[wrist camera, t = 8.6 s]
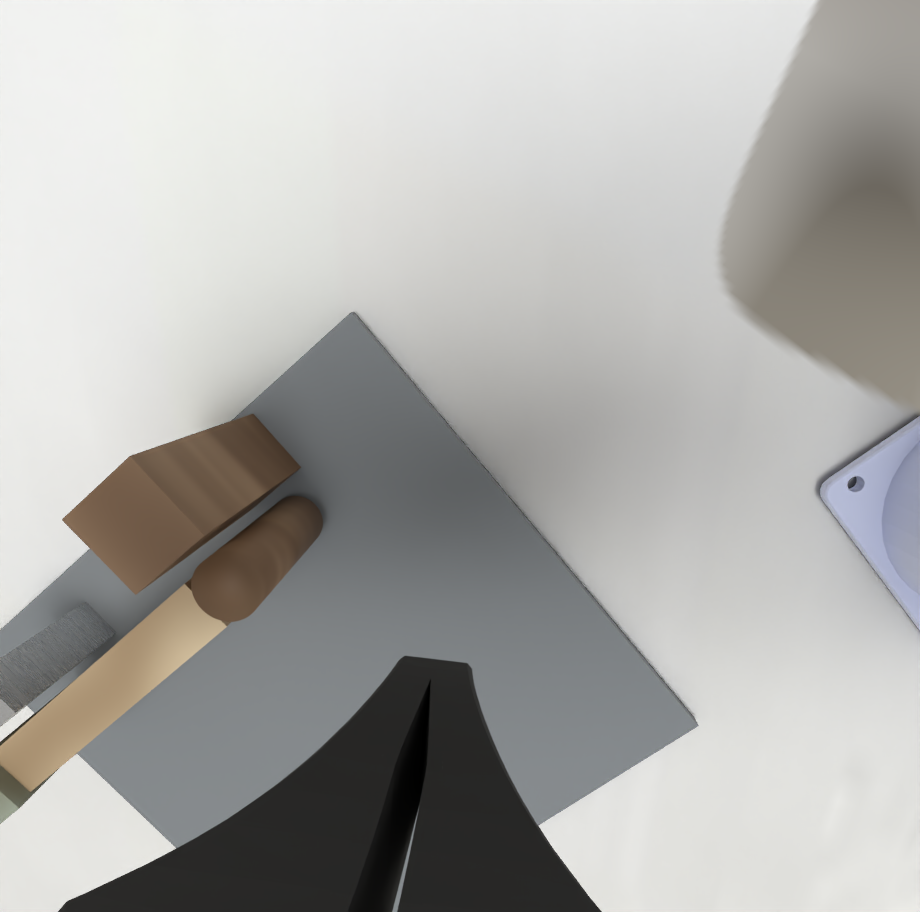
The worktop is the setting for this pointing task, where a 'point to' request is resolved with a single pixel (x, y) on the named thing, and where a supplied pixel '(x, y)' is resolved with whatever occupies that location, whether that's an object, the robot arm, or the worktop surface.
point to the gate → (157, 646)
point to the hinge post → (179, 498)
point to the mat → (370, 617)
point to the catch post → (49, 657)
